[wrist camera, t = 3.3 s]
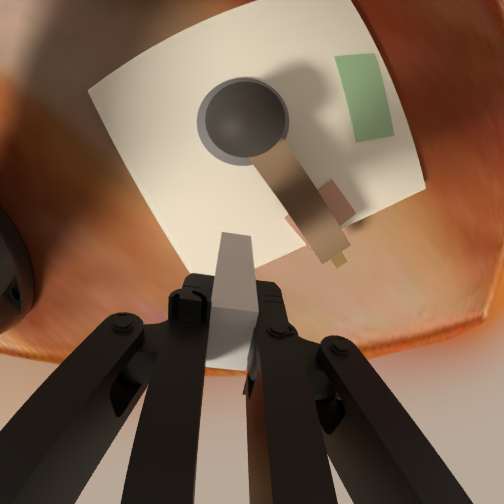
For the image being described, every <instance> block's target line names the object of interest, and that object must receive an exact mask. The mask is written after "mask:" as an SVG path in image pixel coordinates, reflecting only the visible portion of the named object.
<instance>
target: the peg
mask: <svg viewBox="0 0 504 504" xmlns="http://www.w3.org/2000/svg"><path fill="white" fill-rule="evenodd" d="M205 125H206V130H207V133H208V135H209V137H210V139H211V140H212V142H213V143H214V144H215V145H216V146H217V147H218V148H219V149H220V150H222V151H223V152H225V153H227V154H229V155H232V156H235V157H242V158H249V160H250V161H251V162H252V164H253V165H254V167H255V168H256V169H257V171H258V172H259V173H260V175H261V176H262V177H263V179H264V180H265V182H266V183H267V184H268V186H269V187H270V188H271V190H272V191H273V193H274V194H275V195H276V197H277V198H278V200H279V201H280V202H281V204H282V205H283V207H284V208H285V210H286V211H287V212H288V214H289V215H290V217H291V218H292V220H293V221H294V223H295V224H296V225H297V227H298V228H299V230H300V231H301V233H302V234H303V236H304V237H305V239H306V240H307V242H308V243H309V245H310V246H311V248H312V249H313V251H314V252H315V254H316V255H317V257H318V258H319V260H320V261H321V263H322V264H323V263H325V262H326V261H328V260H330V259H331V260H332V262H333V263H334V265H335V266H336V268H338V267H340V266H341V265H343V264H344V263H346V262H347V260H346V258H345V257H344V255H343V253H342V251H343V250H344V249H346V248H347V247H349V246H350V243H349V242H348V240H347V238H346V236H345V235H344V233H343V231H342V230H341V228H340V226H339V224H338V223H337V221H336V219H335V218H334V216H333V214H332V213H331V211H330V209H329V208H328V206H327V205H326V203H325V201H324V200H323V198H322V197H321V195H320V193H319V192H318V190H317V189H316V187H315V185H314V184H313V182H312V181H311V179H310V178H309V176H308V175H307V173H306V172H305V170H304V169H303V167H302V166H301V164H300V163H299V161H298V160H297V158H296V157H295V155H294V154H293V152H292V151H291V149H290V148H289V146H288V145H287V144H286V142H285V141H284V139H283V138H282V134H283V131H284V127H285V111H284V108H283V105H282V103H281V101H280V100H279V98H278V97H277V96H276V94H275V93H274V92H272V91H271V90H270V89H269V88H267V87H265V86H263V85H261V84H258V83H254V82H247V81H246V82H236V83H233V84H230V85H228V86H226V87H224V88H222V89H221V90H220V91H218V92H217V93H216V94H215V95H214V96H213V98H212V99H211V101H210V103H209V104H208V107H207V110H206V115H205Z"/></svg>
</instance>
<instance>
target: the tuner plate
mask: <svg viewBox="0 0 504 504" xmlns="http://www.w3.org/2000/svg"><path fill="white" fill-rule="evenodd" d="M246 81H247V82H254V83H258V84H261V85H263V86H265V87H267V88H269V89H270V90H271V91H272V92H274V93H275V94H276V96H277V97H278V98H279V100H280V101H281V103H282V105H283V108H284V111H285V127H284V131H283V134H282V138H283V139H284V141H285V142H286V144H287V145H288V146H289V148H290V149H291V151H292V152H293V154H294V155H295V157H296V158H297V160H298V161H299V163H300V164H301V166H302V167H303V169H304V170H305V172H306V173H307V175H308V176H309V178H310V179H311V181H312V182H313V184H314V185H315V187H316V189H317V190H318V192H319V193H320V195H321V197H322V198H323V200H324V201H325V203H326V205H327V206H328V208H329V209H330V211H331V213H332V214H333V216H334V218H335V219H336V221H337V223H338V224H339V226H340V228H341V229H342V228H344V227H346V226H348V225H350V224H353V223H355V222H357V221H359V220H361V219H363V218H365V217H367V216H369V215H372V214H374V213H376V212H378V211H380V210H382V209H384V208H386V207H388V206H391V205H393V204H395V203H397V202H399V201H401V200H403V199H405V198H407V197H409V196H411V195H413V194H415V193H418V192H420V191H422V190H424V189H426V187H425V183H424V179H423V174H422V170H421V166H420V163H419V159H418V155H417V152H416V148H415V145H414V141H413V138H412V135H411V132H410V129H409V126H408V123H407V120H406V117H405V114H404V111H403V108H402V105H401V103H400V100H399V97H398V95H397V92H396V90H395V87H394V85H393V82H392V80H391V78H390V75H389V73H388V71H387V68H386V66H385V64H384V62H383V60H382V57H381V55H380V53H379V51H378V49H377V47H376V45H375V43H374V41H373V39H372V37H371V35H370V33H369V31H368V29H367V28H366V26H365V24H364V22H363V20H362V19H361V17H360V15H359V13H358V12H357V10H356V8H355V7H354V5H353V3H352V2H351V0H257V1H254V2H251V3H248V4H245V5H242V6H239V7H236V8H234V9H231V10H228V11H226V12H223V13H221V14H218V15H216V16H214V17H211V18H209V19H207V20H204V21H202V22H200V23H198V24H195V25H193V26H191V27H189V28H187V29H185V30H183V31H181V32H179V33H177V34H175V35H173V36H171V37H169V38H167V39H165V40H164V41H162V42H160V43H158V44H156V45H155V46H153V47H151V48H149V49H148V50H146V51H144V52H143V53H141V54H139V55H138V56H136V57H135V58H133V59H131V60H130V61H128V62H127V63H125V64H124V65H122V66H121V67H119V68H118V69H116V70H115V71H113V72H112V73H110V74H109V75H108V76H106V77H105V78H103V79H102V80H101V81H99V82H98V83H97V84H95V85H94V86H93V87H91V88H90V89H89V90H87V91H88V93H89V95H90V97H91V99H92V101H93V103H94V105H95V107H96V109H97V111H98V113H99V115H100V117H101V119H102V121H103V123H104V125H105V127H106V129H107V131H108V133H109V135H110V137H111V139H112V141H113V143H114V145H115V147H116V148H117V150H118V152H119V154H120V156H121V158H122V160H123V161H124V163H125V165H126V167H127V169H128V171H129V172H130V174H131V176H132V178H133V180H134V181H135V183H136V185H137V187H138V188H139V190H140V192H141V194H142V195H143V197H144V199H145V201H146V202H147V204H148V206H149V207H150V209H151V211H152V212H153V214H154V216H155V218H156V219H157V221H158V223H159V224H160V226H161V228H162V229H163V231H164V232H165V234H166V236H167V237H168V239H169V241H170V242H171V244H172V245H173V247H174V249H175V250H176V252H177V253H178V255H179V257H180V258H181V260H182V261H183V263H184V264H185V266H186V268H187V269H188V271H189V272H190V274H191V273H198V274H205V275H213V276H215V271H216V265H217V258H218V252H219V246H220V240H221V234H222V232H227V233H234V234H241V235H249V236H251V241H252V250H253V260H254V269H255V268H257V267H259V266H261V265H264V264H266V263H268V262H270V261H272V260H275V259H277V258H279V257H281V256H283V255H286V254H288V253H290V252H292V251H294V250H296V249H299V248H301V247H303V246H305V245H307V246H308V247H309V248H310V250H311V249H312V248H311V246H310V245H309V243H308V242H307V240H306V239H305V237H304V236H303V234H302V233H301V231H300V230H299V228H298V227H297V225H296V224H295V223H294V221H293V220H292V218H291V217H290V215H289V214H288V212H287V211H286V210H285V208H284V207H283V205H282V204H281V202H280V201H279V200H278V198H277V197H276V195H275V194H274V193H273V191H272V190H271V188H270V187H269V186H268V184H267V183H266V182H265V180H264V179H263V177H262V176H261V175H260V173H259V172H258V171H257V169H256V168H255V167H254V165H253V164H252V162H251V161H250V160H249V158H242V157H235V156H232V155H229V154H227V153H225V152H223V151H222V150H220V149H219V148H218V147H217V146H216V145H215V144H214V143H213V142H212V140H211V139H210V137H209V135H208V133H207V130H206V125H205V115H206V110H207V107H208V104H209V103H210V101H211V99H212V98H213V96H214V95H215V94H216V93H217V92H218V91H220V90H221V89H222V88H224V87H226V86H228V85H230V84H233V83H236V82H246Z"/></svg>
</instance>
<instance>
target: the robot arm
mask: <svg viewBox="0 0 504 504" xmlns="http://www.w3.org/2000/svg"><path fill="white" fill-rule="evenodd" d="M34 293H35V286H34V276H33V271H32V267H31V263H30V260H29V256H28V254H27V251H26V248H25V246H24V243H23V241H22V239H21V237H20V235H19V233H18V231H17V229H16V228H15V226H14V224H13V223H12V221H11V220H10V218H9V217H8V216H7V214H6V213H5V212H4V211H3V210H2V209H1V208H0V334H2V333H4V332H6V331H8V330H10V329H12V328H14V327H15V326H16V325H18V324H19V323H20V322H21V321H22V319H23V318H24V317H25V316H26V315H27V313H28V312H29V311H30V309H31V307H32V304H33V301H34ZM247 365H248V373H247V377H246V382H245V386H244V390H243V395H245V394H246V415H247V443H248V444H247V445H248V472H249V495H250V504H338V502H337V498H336V493H335V488H334V483H333V479H332V474H331V469H330V465H329V460H328V456H329V458H330V460H331V462H332V463H333V466H334V468H335V470H336V471H337V473H338V475H339V477H340V479H341V480H342V483H343V484H344V486H345V488H346V490H347V492H348V494H349V495H350V497H351V499H352V501H353V503H354V504H473V503H472V501H471V500H470V498H469V497H468V496H467V494H466V492H465V491H464V490H463V488H462V487H461V485H460V484H459V483H458V481H457V480H456V479H455V477H454V476H453V475H452V473H451V471H450V470H449V469H448V467H447V466H446V465H445V463H444V462H443V460H442V459H441V458H440V456H439V455H438V454H437V452H436V451H435V449H434V448H433V446H432V445H431V444H430V442H429V441H428V440H427V438H426V437H425V436H424V434H423V433H422V431H421V430H420V429H419V427H418V426H417V425H416V424H415V422H414V421H413V419H412V418H411V417H410V415H409V414H408V413H407V411H406V410H405V409H404V408H403V406H402V405H401V403H400V402H399V401H398V400H397V398H396V397H395V396H394V394H393V393H392V392H391V390H390V389H389V388H388V387H387V385H386V384H385V383H384V381H383V380H382V379H381V377H380V376H379V375H378V373H377V372H376V371H375V370H374V368H373V367H372V366H371V364H370V363H369V362H368V361H367V359H366V358H365V357H364V355H363V354H362V353H361V352H360V350H359V349H358V348H357V346H356V345H355V344H354V343H353V342H351V341H350V340H348V339H346V338H344V337H341V336H327V337H325V338H324V339H323V340H322V341H321V343H320V344H319V343H315V342H311V341H308V340H305V339H303V338H301V337H299V336H298V332H297V330H296V329H295V327H294V326H292V325H291V324H290V323H289V322H288V318H287V314H286V309H285V305H284V301H283V298H282V293H281V289H280V288H279V287H278V286H277V285H276V284H275V282H267V281H259V280H255V270H254V260H253V250H252V241H251V236H249V235H241V234H234V233H227V232H222V234H221V240H220V246H219V252H218V258H217V265H216V271H215V276H213V275H205V274H198V273H191V274H190V275H188V276H187V277H186V278H185V280H184V283H183V286H182V289H177V290H175V291H174V292H172V293H171V294H170V295H169V304H168V320H167V321H165V322H162V323H158V324H145V325H143V321H142V320H141V319H140V317H138V316H136V315H135V314H131V313H127V312H124V313H116V314H112V315H110V316H109V317H107V318H106V319H105V320H104V321H103V322H102V323H101V324H100V325H99V326H98V327H97V328H96V329H95V330H94V331H93V332H92V333H91V334H90V335H89V336H88V337H87V338H86V339H85V340H84V341H83V342H82V343H81V344H80V345H79V346H78V347H77V348H76V349H75V350H74V351H73V352H72V353H71V354H70V355H69V356H68V357H67V358H66V359H65V360H64V361H63V362H62V363H61V364H60V365H59V367H58V368H57V369H56V370H55V371H54V372H53V373H52V374H51V375H50V376H49V377H48V378H47V379H46V380H45V381H44V382H43V383H42V385H41V386H40V387H39V388H38V389H37V390H36V391H35V392H34V393H33V394H32V395H31V397H30V398H29V399H28V400H27V401H26V402H25V403H24V404H23V406H22V407H21V408H20V409H19V410H18V411H17V412H16V414H15V415H14V416H13V417H12V418H11V419H10V420H9V422H8V423H7V424H6V425H5V426H4V427H3V429H2V430H1V431H0V504H74V503H75V502H76V500H77V499H78V497H79V495H80V494H81V492H82V490H83V489H84V487H85V486H86V484H87V482H88V481H89V479H90V477H91V476H92V474H93V472H94V471H95V469H96V468H97V466H98V464H99V463H100V461H101V459H102V458H103V456H104V455H105V453H106V451H107V450H108V448H109V447H110V445H111V443H112V442H113V440H114V439H115V437H116V435H117V434H118V432H119V430H120V429H121V427H122V426H123V424H124V423H125V421H126V420H127V418H128V416H129V415H130V413H131V412H132V410H133V408H134V407H135V405H136V404H137V402H138V400H139V399H140V397H141V396H142V394H143V393H144V391H145V389H146V388H147V386H148V389H147V392H146V395H145V399H144V403H143V407H142V411H141V414H140V418H139V423H138V427H137V431H136V435H135V439H134V443H133V448H132V452H131V456H130V461H129V465H128V470H127V474H126V479H125V484H124V489H123V494H122V499H121V504H194V496H195V494H194V493H195V480H196V465H197V452H198V440H199V428H200V417H201V406H202V396H203V386H204V376H205V367H213V368H222V369H231V370H242V371H246V367H247ZM148 384H149V385H148ZM327 454H328V456H327Z"/></svg>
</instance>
